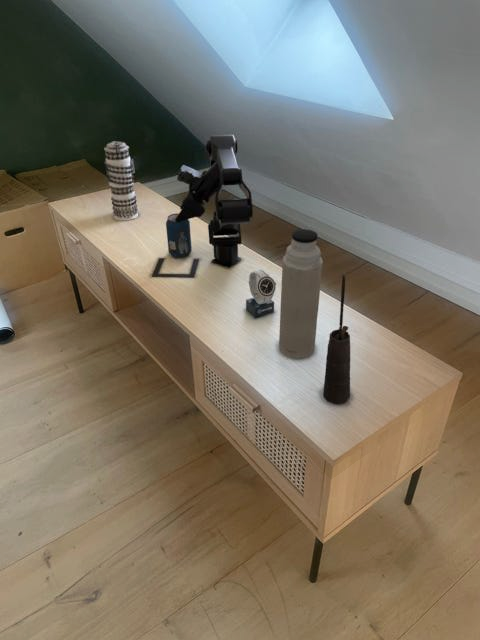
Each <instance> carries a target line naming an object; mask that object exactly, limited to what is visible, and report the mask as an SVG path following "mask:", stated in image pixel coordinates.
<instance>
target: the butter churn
mask: <svg viewBox="0 0 480 640" xmlns="http://www.w3.org/2000/svg"><path fill="white" fill-rule="evenodd" d="M345 292H346V275H345V274H342V277H341V294H340V309H339V324H338V325H339V327H338V329H334V330H332V331H331V332H330V333H329V339H328V343H327V351H326V352H327V353H326V359H325V371H324V381H323V391H322V396H323V398H324V400H325V401H326V402H328V403H330V404H333V405H342V404H343V405H344V404H346V403H347V402H348V400H349V399H350V398H351V335H350V334H349V331H348V330H349V326H347V325H343V323H344V304H345V294H346V293H345Z"/></svg>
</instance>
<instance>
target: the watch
mask: <svg viewBox="0 0 480 640" xmlns="http://www.w3.org/2000/svg"><path fill="white" fill-rule="evenodd" d="M248 286H249V292H250V294H251V296H252V297H250V298H246V300H245V312H247V313H248V314H249V315H251V317H253V319H258V318H261V317H264V316H267V315H270V314H273V313H275V301H274V300H272V299H273V297H274V295H275V292H276V289H277V288H276V287H277V282H276V281H275V280H274V278H272V277H271V275H270V274H269V273H267V272H266V271H264V269H258V270H254V271H251V272H250V273H249V276H248Z"/></svg>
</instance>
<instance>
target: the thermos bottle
mask: <svg viewBox="0 0 480 640" xmlns="http://www.w3.org/2000/svg"><path fill="white" fill-rule="evenodd" d="M317 240H318V233H317V232H316V231H315V230H312V229H307V228H305V229H303V228H302V229H296V230H294V231H293V232H292V233H291V244H289V245H288V246H287V248H286V251H285V255H284V256H283V257H282V266H281V267H282V268H281V269H282V270H281V291H280V314H279V315H280V316H279V337H278V350H279V351H280V353H281V354H282V355H283V356H285V357H287V358H289V359H293V360H294V359H295V360H302V359H307V358H309V357H311V356H312V355H313V354H314V352H315V348H316V337H317V336H316V335H317V325H318V315H319V304H320V297H321V296H320V294H321V284H322V272H323V264H324V263H323V262H324V260H323V258H322V257H321V255H322V252H321V249H320V248H319V246H317Z"/></svg>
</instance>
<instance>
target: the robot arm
mask: <svg viewBox="0 0 480 640" xmlns="http://www.w3.org/2000/svg"><path fill="white" fill-rule="evenodd" d="M204 152H205V153H204V154H205V155H207V157H208V158H209V162H210V167H209V168H208V169H207V170H203V171H202V172H200V171H198V170H197V169H194V168H193V167H190V166H187V165H185V164H182V165H181V167H180V169H179V172H178V175H177V177H176V180H177V181H178V182H181V183H185V184H187V185H188V193H187V194H186V195H185V196H184V197H183V199H182V202H181V205H180V206H179V209H180V211H179V212H178V213H179V214H178V216H177V217H176V219H175V221H176V222H177V223H178V222H181V221H184V220H187V219H188V220H191V219H194V218H201V217H202V216H203V215H204V214H205V212H206V209H207V206H206V203H209V202H210V200H211V198H212V197H213V196H214V195H215V197H214V198H215V199H214V204H215V205H214V206H215V207H214V208H215V211H214V212H213V213H212V216H211V219H210V220H209V223H208V225H207V230H208V231H207V232H208V243H209V245H211V246H212V247H213V259H212V260H211V263H212V264H216V265H219V266H222V267H225V268H231V267H233V266H234V265H236V264H237V263H239V262H240V261H242V258H241V257H239V245H242V232H241V224H249V223H250V222H251V219H253V217H254V212H253V199H252V192H251V191H250V189H249V187H248V186H247V184H246V183H245V182H244V180H243V171H242V168H241V167H239V166H238V165H239V164H238V163H237V158H236V155H237V153H238V140H237V138H235V135H234V134H216V135H215V134H213V135H209V139H208V140H207V141H206V144H205V148H204ZM225 186H238V187H239V189H240V190H241V191H242V193H243V194H244V196H245V197H246V198H232V199H231V198H230V199H219V196H220V194H221V192H222V190H223V188H224V187H225Z"/></svg>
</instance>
